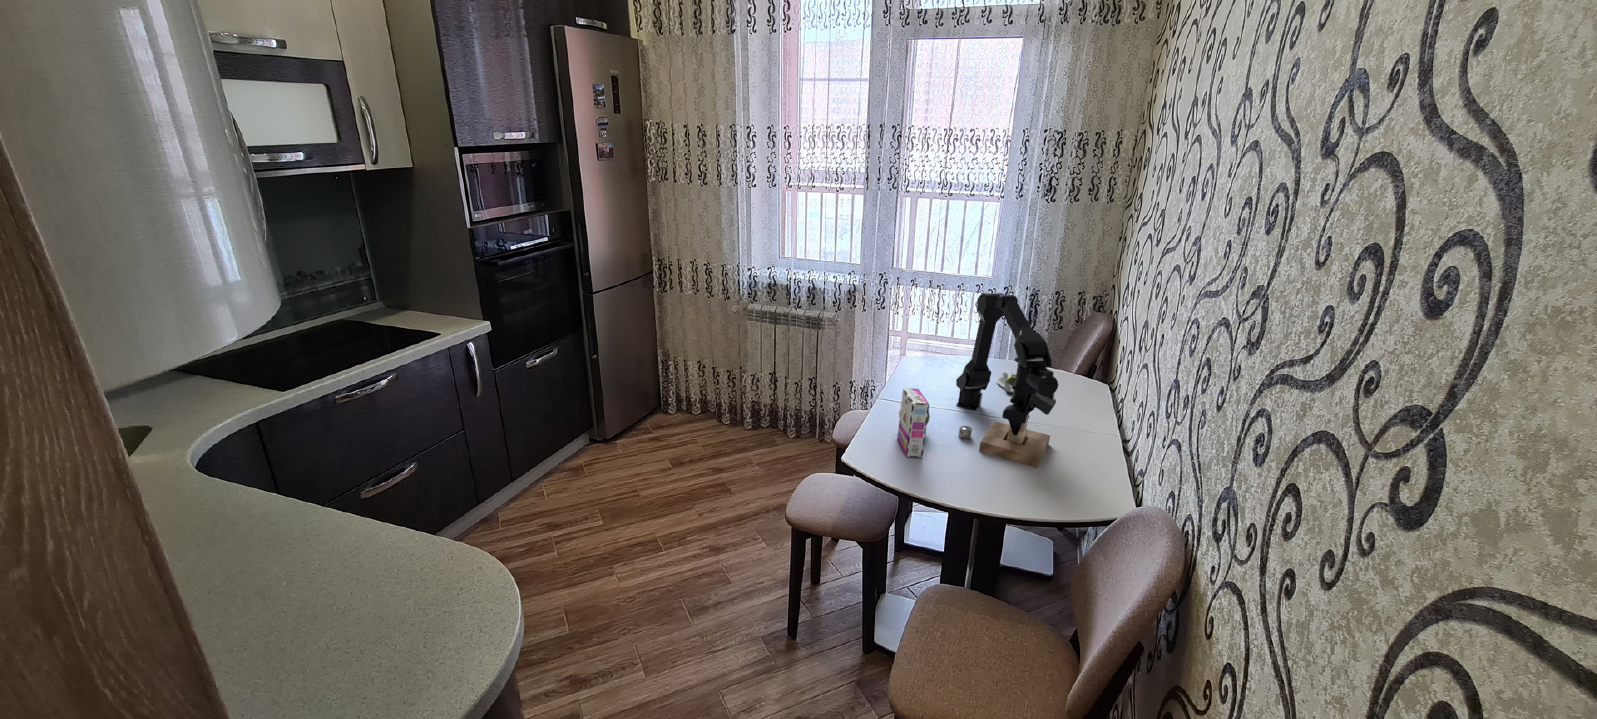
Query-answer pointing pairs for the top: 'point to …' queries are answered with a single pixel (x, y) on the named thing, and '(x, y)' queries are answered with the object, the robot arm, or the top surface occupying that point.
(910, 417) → the candy bar box
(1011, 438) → the tan cardboard cuboid
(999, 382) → the salad plate
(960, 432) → the grey metal cylinder
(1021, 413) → the robot arm
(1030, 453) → the hole block
